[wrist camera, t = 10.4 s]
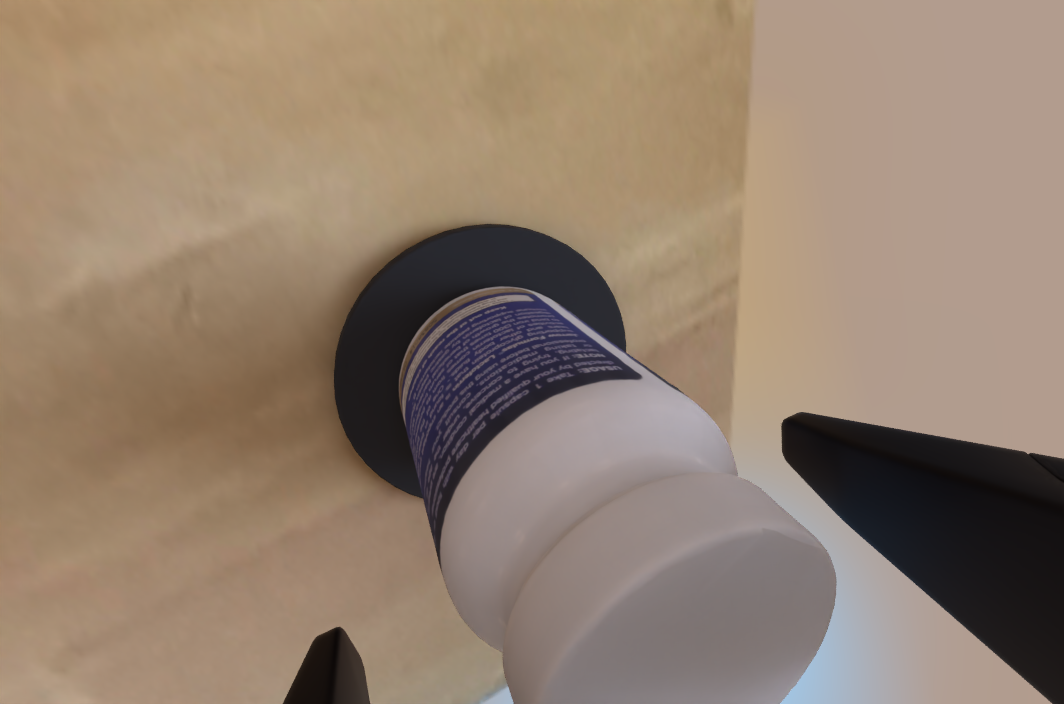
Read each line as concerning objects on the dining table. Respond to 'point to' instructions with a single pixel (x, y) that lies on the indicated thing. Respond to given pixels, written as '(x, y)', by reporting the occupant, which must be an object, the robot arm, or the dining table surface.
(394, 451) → the coaster
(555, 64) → the dining table surface
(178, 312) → the dining table surface
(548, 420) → the pill bottle
